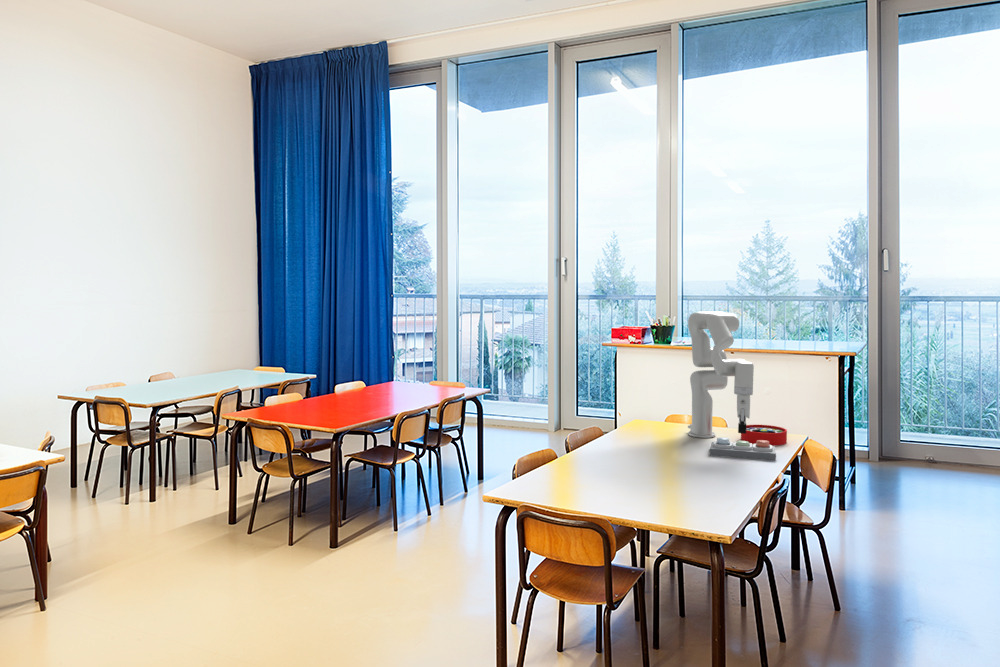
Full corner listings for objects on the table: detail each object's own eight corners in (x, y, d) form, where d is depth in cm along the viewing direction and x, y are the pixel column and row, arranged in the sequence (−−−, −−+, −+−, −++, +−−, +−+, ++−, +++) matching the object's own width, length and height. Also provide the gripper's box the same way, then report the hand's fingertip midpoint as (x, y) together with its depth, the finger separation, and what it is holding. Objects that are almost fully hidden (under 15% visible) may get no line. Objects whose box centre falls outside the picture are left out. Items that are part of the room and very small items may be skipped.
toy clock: (747, 433, 307) (736, 424, 327) (747, 445, 307) (735, 436, 327) (793, 433, 305) (778, 424, 325) (792, 446, 306) (778, 436, 326)
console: (709, 455, 289) (709, 445, 288) (711, 448, 302) (711, 439, 301) (775, 460, 279) (775, 450, 279) (774, 453, 292) (774, 443, 292)
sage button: (736, 447, 289) (736, 442, 289) (736, 444, 294) (736, 440, 293) (748, 448, 287) (748, 443, 287) (748, 445, 292) (749, 441, 292)
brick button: (756, 446, 286) (756, 442, 286) (756, 444, 291) (756, 439, 291) (769, 447, 284) (769, 443, 284) (768, 445, 289) (769, 440, 289)
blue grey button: (716, 444, 292) (716, 439, 291) (717, 441, 296) (717, 437, 296) (728, 444, 290) (729, 440, 290) (729, 442, 294) (729, 437, 294)
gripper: (752, 394, 281) (751, 437, 282) (752, 388, 295) (751, 429, 296) (733, 393, 283) (732, 436, 285) (734, 387, 297) (733, 428, 299)
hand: (742, 432), depth 291 cm, fingers closed
